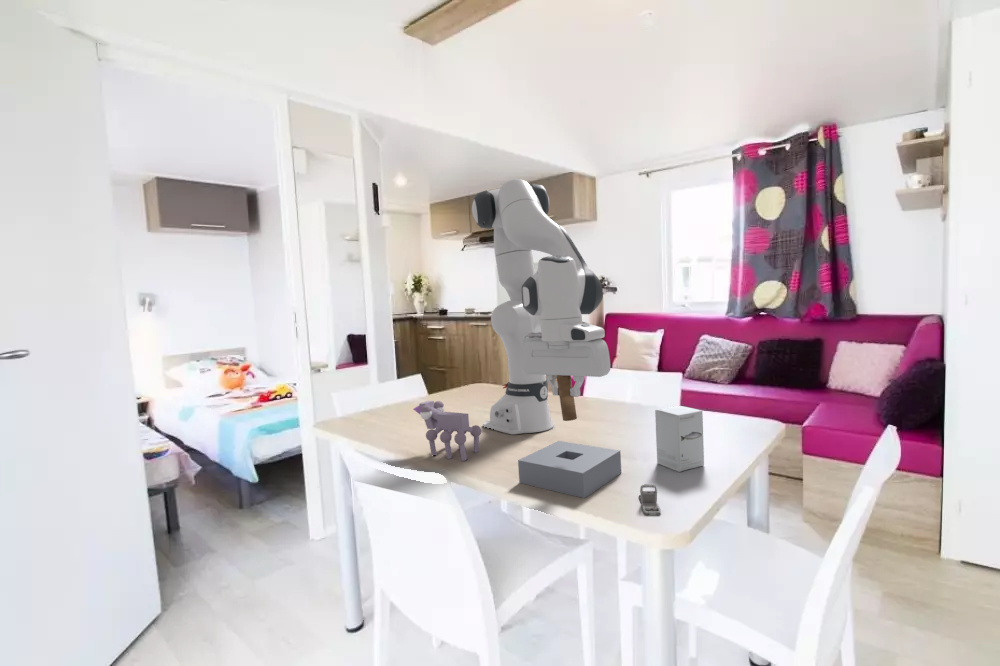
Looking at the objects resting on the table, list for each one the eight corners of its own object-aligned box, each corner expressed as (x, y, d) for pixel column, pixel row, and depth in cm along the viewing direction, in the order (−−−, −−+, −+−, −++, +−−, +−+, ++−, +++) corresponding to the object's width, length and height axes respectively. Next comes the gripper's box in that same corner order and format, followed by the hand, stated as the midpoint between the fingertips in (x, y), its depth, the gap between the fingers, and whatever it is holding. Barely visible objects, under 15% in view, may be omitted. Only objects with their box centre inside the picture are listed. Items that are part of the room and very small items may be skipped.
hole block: (519, 482, 108) (517, 460, 108) (559, 461, 120) (558, 440, 120) (584, 498, 98) (582, 473, 98) (621, 472, 110) (620, 450, 110)
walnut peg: (560, 420, 108) (553, 374, 107) (567, 417, 110) (561, 372, 110) (572, 420, 106) (565, 373, 106) (579, 417, 108) (572, 371, 108)
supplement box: (679, 473, 108) (677, 415, 107) (656, 463, 115) (653, 409, 114) (705, 466, 111) (703, 410, 110) (681, 457, 118) (679, 404, 117)
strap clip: (661, 517, 89) (660, 493, 88) (644, 517, 89) (643, 493, 89) (654, 497, 97) (653, 476, 97) (637, 497, 97) (636, 476, 97)
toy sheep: (402, 454, 134) (399, 403, 134) (428, 444, 143) (426, 397, 143) (462, 463, 124) (459, 408, 123) (486, 452, 133) (484, 401, 132)
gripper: (514, 334, 111) (519, 395, 112) (596, 332, 98) (601, 401, 99) (531, 331, 116) (535, 390, 117) (611, 329, 103) (616, 395, 104)
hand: (566, 395), depth 108 cm, fingers closed on walnut peg, 3 cm apart
